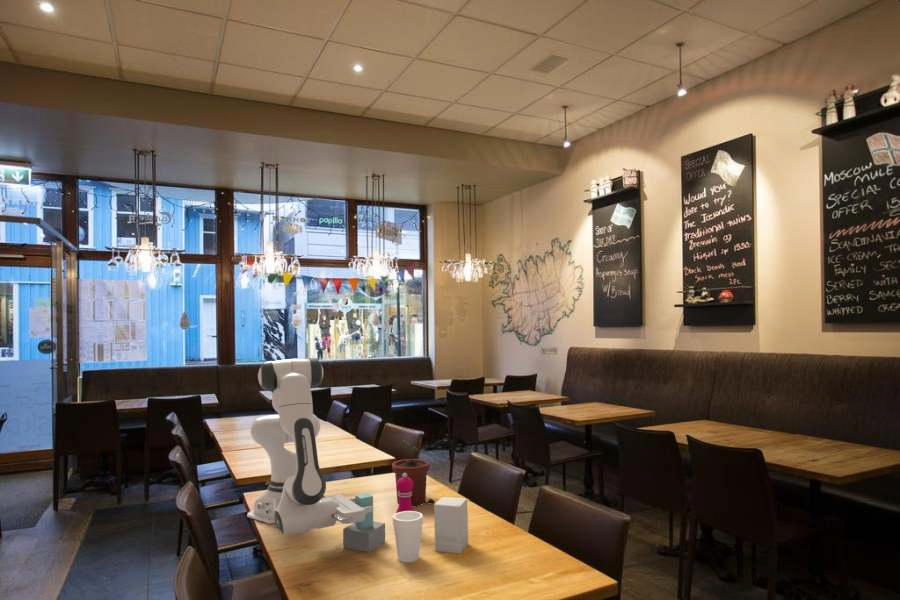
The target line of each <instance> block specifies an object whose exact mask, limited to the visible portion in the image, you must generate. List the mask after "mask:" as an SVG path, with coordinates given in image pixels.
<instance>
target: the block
mask: <svg viewBox="0 0 900 600" xmlns="http://www.w3.org/2000/svg"><path fill="white" fill-rule="evenodd" d="M354 498H355V503H356V504H357V505H359V506H360V507H364V508H365V507H367V506H368V505H371V506H373V507H374V496H373V495H372V494H370V493H368V492H366V493H361V494H354ZM373 521H374V511H373V512H369V513H367V514H366V515H365V520H364V521H362V522H357V523H355V526H357V527H358V528H360V529H365V528H369V527H373Z"/></svg>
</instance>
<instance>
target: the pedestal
mask: <svg viewBox="0 0 900 600" xmlns="http://www.w3.org/2000/svg"><path fill="white" fill-rule="evenodd" d="M342 532H343V533H342V534H343V535H342V544H343V545H342V547H344V549H350V550H355V551H360V552H365V553H370V552H371V551H373V550H374V549H376V548H377V547H379V546H380V545H382V544H384V543H385V542H386V523H385V522H380V521H374V520H373V527H369V528H365V529H360V528H358V527H357V526H355V523H350V524H349V525H348V526H346V527H344V528H342Z"/></svg>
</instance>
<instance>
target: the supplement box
mask: <svg viewBox="0 0 900 600" xmlns="http://www.w3.org/2000/svg"><path fill="white" fill-rule="evenodd" d="M433 515H434V517H433V518H434V551H435V552H443V553H451V554H462V553H463V551H464V550H465V549H466V547H467V546H468V545H469V527H468V526H469V525H468V524H469V522H468V521H469V518H468V515H469V514H468V499H467V498H464V497H463V498H462V497H449V496H442V497H440V499H439V500H437V501H436V502H435V503H434V504H433Z"/></svg>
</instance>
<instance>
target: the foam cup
mask: <svg viewBox="0 0 900 600" xmlns="http://www.w3.org/2000/svg"><path fill="white" fill-rule="evenodd" d="M423 523H424V515H423V513H421V512H419V511H415V510H414V511H403V512H398V513H396V512H395V513H394V514H393V515H392V525H393V531H394V537H395V545H396V554H397V557H398V558H397V559H398V561H400V562H402V563H413V562H416V561H418V560H419V556H420V549H421V538H422V529H423Z"/></svg>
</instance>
